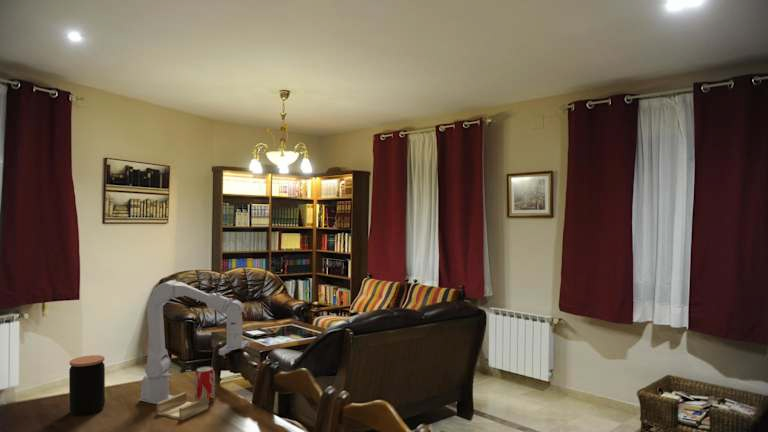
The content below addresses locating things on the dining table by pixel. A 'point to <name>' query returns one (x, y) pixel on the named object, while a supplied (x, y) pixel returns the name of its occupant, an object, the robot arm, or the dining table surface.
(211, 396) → the soda can
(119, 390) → the dining table surface
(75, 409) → the coffee jar
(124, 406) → the dining table surface
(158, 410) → the cradle
